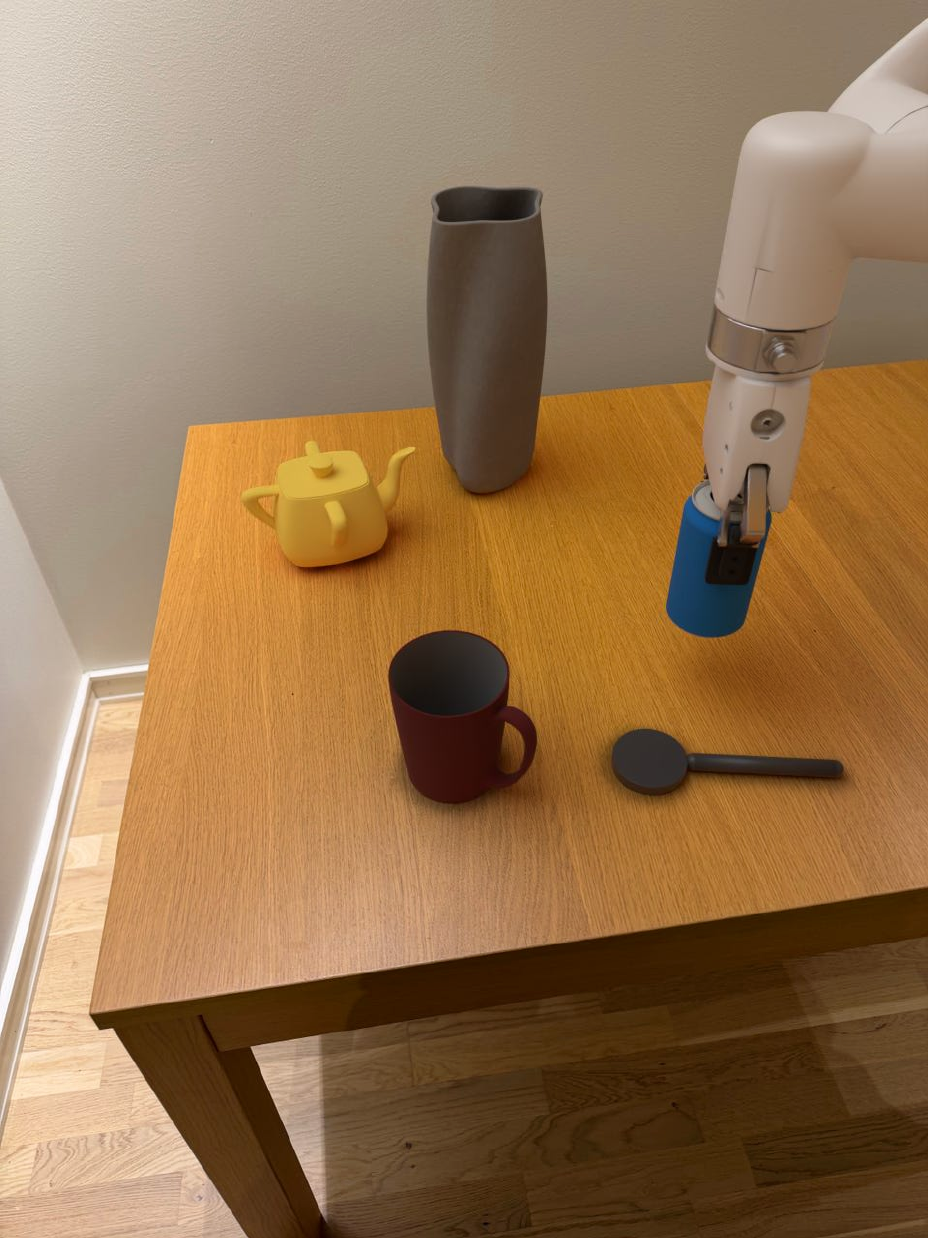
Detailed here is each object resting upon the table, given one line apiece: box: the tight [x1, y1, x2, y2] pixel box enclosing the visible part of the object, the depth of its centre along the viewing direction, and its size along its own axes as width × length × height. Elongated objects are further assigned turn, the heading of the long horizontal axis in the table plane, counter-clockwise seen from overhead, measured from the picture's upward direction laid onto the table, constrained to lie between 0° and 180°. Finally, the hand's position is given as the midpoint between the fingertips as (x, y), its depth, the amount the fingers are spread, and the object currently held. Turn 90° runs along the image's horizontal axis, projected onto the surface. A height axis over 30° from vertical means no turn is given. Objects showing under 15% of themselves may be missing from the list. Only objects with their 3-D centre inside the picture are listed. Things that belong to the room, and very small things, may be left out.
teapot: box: [240, 440, 416, 568], centre depth 91 cm, size 14×13×10 cm
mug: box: [387, 629, 538, 804], centre depth 68 cm, size 12×9×11 cm
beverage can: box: [665, 480, 773, 639], centre depth 70 cm, size 6×6×12 cm
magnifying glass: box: [610, 728, 845, 796], centre depth 71 cm, size 18×6×1 cm, turn 86°
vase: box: [426, 185, 549, 494], centre depth 94 cm, size 12×12×30 cm
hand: (719, 550), depth 69 cm, fingers closed on beverage can, 6 cm apart
